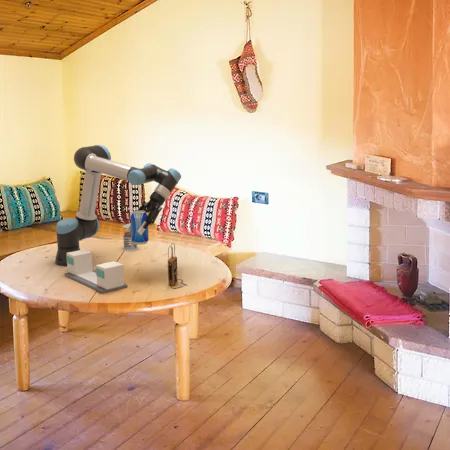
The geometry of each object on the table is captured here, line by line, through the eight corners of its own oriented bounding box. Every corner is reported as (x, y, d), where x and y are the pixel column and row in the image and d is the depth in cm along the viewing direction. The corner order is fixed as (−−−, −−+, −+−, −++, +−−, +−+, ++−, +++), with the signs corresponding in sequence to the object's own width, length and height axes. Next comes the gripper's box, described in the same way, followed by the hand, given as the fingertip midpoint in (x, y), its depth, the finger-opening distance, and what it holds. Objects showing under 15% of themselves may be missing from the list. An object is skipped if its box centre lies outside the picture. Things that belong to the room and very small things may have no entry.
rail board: (64, 275, 333) (62, 253, 331) (88, 270, 342) (87, 248, 340) (102, 293, 305) (101, 269, 303) (127, 287, 314) (126, 263, 312)
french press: (130, 246, 390) (128, 205, 385) (144, 248, 384) (143, 207, 378) (118, 249, 382) (116, 208, 377) (133, 252, 376) (131, 210, 370)
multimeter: (186, 289, 310) (185, 249, 305) (166, 288, 312) (164, 248, 307) (193, 280, 324) (192, 241, 319) (174, 279, 326) (173, 240, 321)
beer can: (132, 240, 329) (131, 209, 325) (149, 240, 329) (148, 209, 325) (130, 245, 321) (129, 213, 317) (147, 244, 321) (146, 213, 317)
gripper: (176, 203, 322) (151, 239, 316) (152, 197, 338) (127, 232, 331) (167, 194, 318) (141, 231, 311) (143, 188, 333) (117, 223, 327)
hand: (134, 231), depth 321 cm, fingers closed on beer can, 8 cm apart
